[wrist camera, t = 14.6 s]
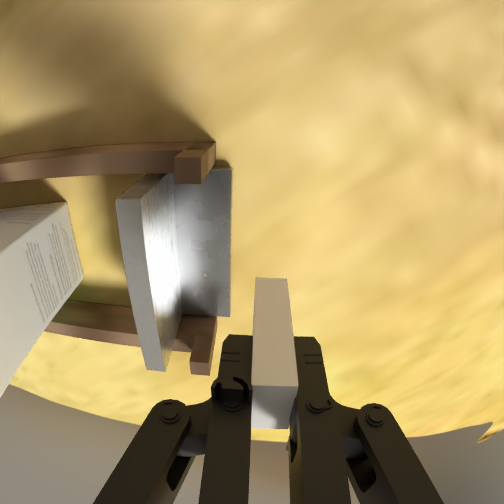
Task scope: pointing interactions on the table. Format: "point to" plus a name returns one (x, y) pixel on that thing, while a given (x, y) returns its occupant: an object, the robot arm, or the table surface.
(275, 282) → the robot arm
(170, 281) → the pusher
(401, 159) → the table surface
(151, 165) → the frame
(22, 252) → the skincare box
